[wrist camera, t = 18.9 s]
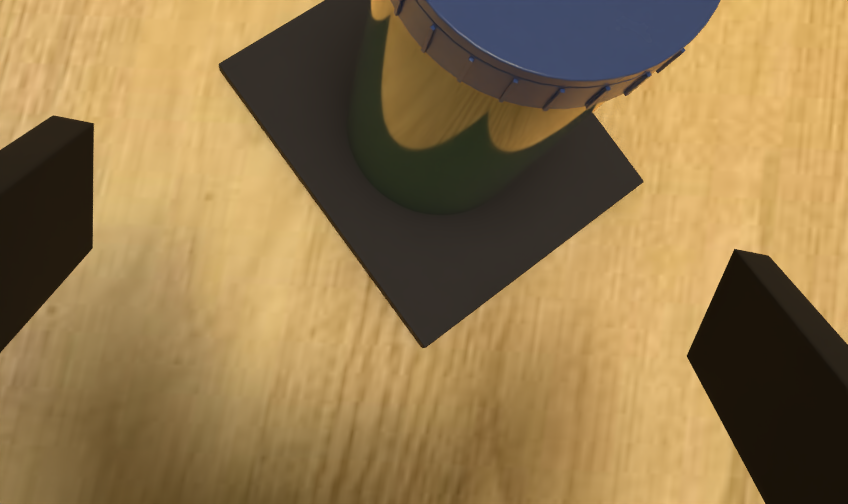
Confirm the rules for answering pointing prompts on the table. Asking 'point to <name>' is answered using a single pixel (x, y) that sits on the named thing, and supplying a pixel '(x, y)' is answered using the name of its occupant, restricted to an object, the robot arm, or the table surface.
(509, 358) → the table surface
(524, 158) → the jar
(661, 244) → the table surface
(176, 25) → the table surface
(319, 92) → the mat
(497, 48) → the lid
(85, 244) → the robot arm
